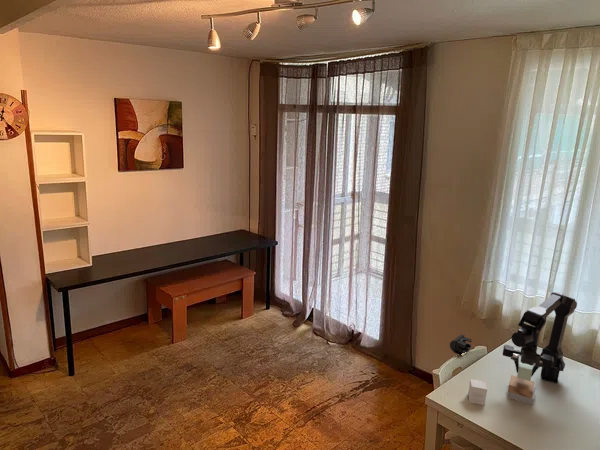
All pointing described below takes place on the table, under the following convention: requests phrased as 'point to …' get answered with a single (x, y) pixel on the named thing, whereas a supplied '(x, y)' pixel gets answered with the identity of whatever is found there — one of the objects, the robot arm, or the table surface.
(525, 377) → the green cube
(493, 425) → the table surface
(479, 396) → the product box
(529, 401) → the bottom slab
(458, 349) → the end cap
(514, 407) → the table surface
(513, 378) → the top slab
